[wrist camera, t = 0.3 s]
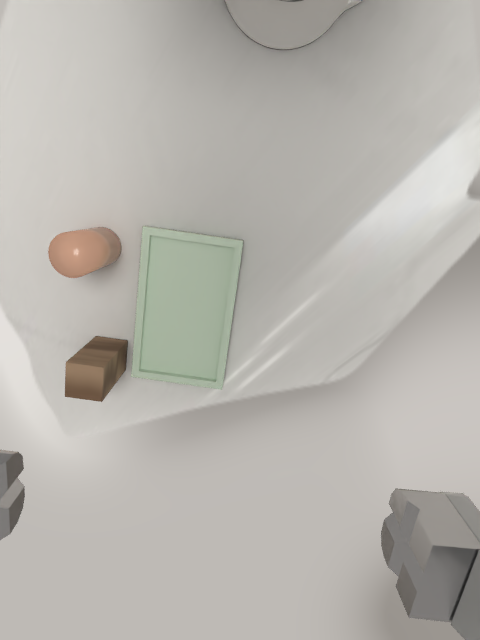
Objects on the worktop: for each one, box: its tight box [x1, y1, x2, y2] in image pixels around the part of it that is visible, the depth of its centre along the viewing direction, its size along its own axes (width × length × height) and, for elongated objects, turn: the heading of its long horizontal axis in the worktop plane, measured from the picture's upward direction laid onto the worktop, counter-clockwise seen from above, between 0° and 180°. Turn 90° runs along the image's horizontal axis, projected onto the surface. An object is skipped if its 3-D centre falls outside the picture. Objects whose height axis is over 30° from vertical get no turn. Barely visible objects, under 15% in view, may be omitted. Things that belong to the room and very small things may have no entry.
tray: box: [131, 226, 243, 389], centre depth 56 cm, size 21×13×2 cm, turn 172°
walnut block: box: [65, 336, 128, 402], centre depth 54 cm, size 4×4×10 cm
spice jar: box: [48, 227, 121, 278], centre depth 50 cm, size 5×5×10 cm
